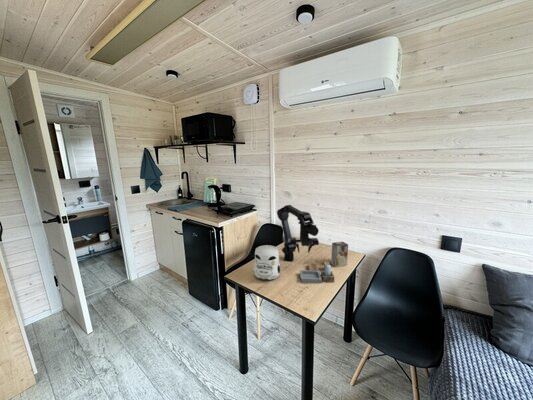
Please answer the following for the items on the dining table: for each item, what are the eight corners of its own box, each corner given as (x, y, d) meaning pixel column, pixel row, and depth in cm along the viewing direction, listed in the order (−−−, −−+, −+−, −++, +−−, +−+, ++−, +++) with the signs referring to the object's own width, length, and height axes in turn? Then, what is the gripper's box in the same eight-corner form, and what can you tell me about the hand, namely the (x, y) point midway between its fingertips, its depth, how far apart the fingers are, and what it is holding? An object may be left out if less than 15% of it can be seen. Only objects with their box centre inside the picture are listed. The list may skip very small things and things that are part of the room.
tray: (301, 282, 134) (301, 278, 134) (299, 273, 145) (300, 270, 144) (321, 283, 134) (321, 279, 133) (318, 274, 144) (318, 270, 143)
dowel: (324, 280, 136) (325, 267, 135) (323, 277, 140) (324, 264, 138) (330, 280, 136) (331, 267, 134) (329, 277, 140) (330, 264, 138)
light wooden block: (324, 271, 147) (325, 264, 146) (323, 268, 151) (324, 261, 150) (329, 271, 147) (329, 264, 146) (328, 268, 151) (328, 261, 150)
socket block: (322, 281, 135) (322, 276, 134) (320, 275, 142) (320, 270, 141) (334, 282, 134) (334, 277, 134) (331, 276, 141) (331, 271, 141)
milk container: (259, 285, 132) (258, 258, 128) (250, 271, 147) (249, 246, 144) (284, 279, 138) (285, 253, 134) (273, 266, 154) (273, 242, 150)
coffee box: (341, 261, 161) (343, 241, 157) (347, 265, 155) (348, 244, 151) (330, 263, 158) (332, 242, 155) (335, 267, 152) (337, 246, 149)
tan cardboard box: (309, 273, 146) (309, 269, 145) (308, 266, 154) (308, 263, 154) (318, 273, 145) (318, 270, 145) (316, 266, 154) (316, 263, 153)
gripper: (291, 235, 137) (290, 258, 140) (320, 235, 136) (319, 258, 139) (290, 229, 148) (289, 250, 151) (317, 229, 147) (316, 251, 150)
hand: (303, 253), depth 148 cm, fingers open, 6 cm apart
